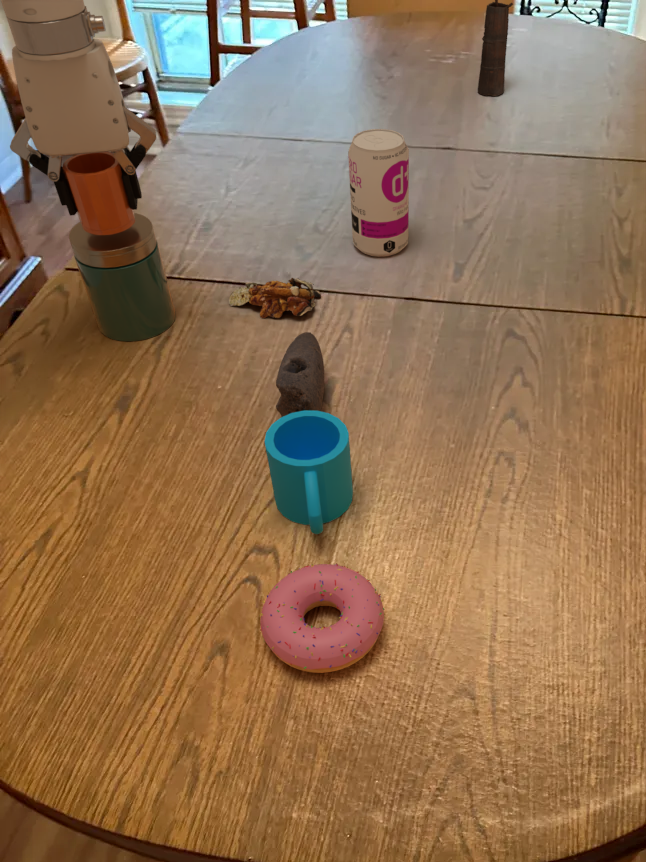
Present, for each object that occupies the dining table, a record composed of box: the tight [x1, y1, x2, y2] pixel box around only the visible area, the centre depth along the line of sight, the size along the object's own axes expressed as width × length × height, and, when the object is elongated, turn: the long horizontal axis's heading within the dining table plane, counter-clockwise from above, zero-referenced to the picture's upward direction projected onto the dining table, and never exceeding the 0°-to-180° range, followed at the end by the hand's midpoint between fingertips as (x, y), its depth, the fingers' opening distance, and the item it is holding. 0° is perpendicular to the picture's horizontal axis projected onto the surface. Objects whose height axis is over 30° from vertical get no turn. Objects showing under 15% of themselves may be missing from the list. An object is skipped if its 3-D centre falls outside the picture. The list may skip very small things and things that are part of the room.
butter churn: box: [477, 0, 514, 97], centre depth 146 cm, size 9×10×28 cm
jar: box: [73, 239, 176, 342], centre depth 99 cm, size 10×10×12 cm
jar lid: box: [68, 212, 157, 268], centre depth 95 cm, size 10×10×2 cm
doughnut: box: [259, 562, 385, 674], centre depth 69 cm, size 11×11×4 cm
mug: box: [264, 410, 354, 535], centre depth 78 cm, size 12×8×8 cm
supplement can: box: [347, 128, 410, 258], centre depth 111 cm, size 8×8×15 cm
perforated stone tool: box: [275, 331, 325, 417], centre depth 90 cm, size 15×5×7 cm, turn 178°
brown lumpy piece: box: [228, 277, 322, 319], centre depth 105 cm, size 7×12×4 cm, turn 82°
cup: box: [62, 152, 135, 235], centre depth 91 cm, size 6×6×7 cm
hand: (104, 205), depth 92 cm, fingers closed on cup, 6 cm apart
